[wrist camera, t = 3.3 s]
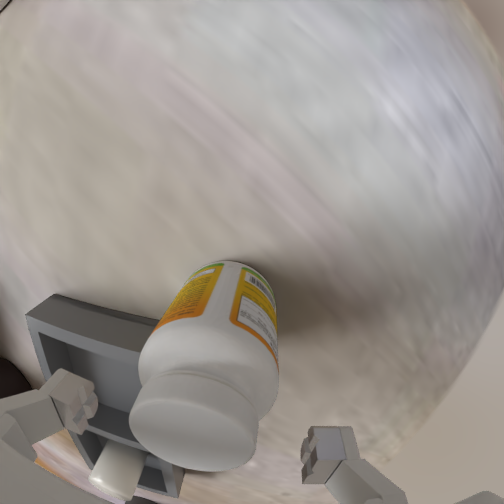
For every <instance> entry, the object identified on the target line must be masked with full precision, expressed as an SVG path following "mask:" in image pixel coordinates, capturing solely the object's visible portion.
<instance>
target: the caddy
mask: <svg viewBox="0 0 504 504" xmlns="http://www.w3.org/2000/svg"><path fill="white" fill-rule="evenodd" d="M25 315H26V320H27V323H28V327H29V331H30V335H31V338H32V342H33V345H34V348H35V351H36V354H37V358H38V361H39V363H40V366H41V369H42V372H43V375H44V377H45V380H46V382H47V381H48V379H49V378H50V377H51V376H52V375H53V374H54V373H55V372H56V371H57V370H58V369H61V368H62V369H64V370H66V371H69V372H71V373H73V374H75V375H78V376H80V377H82V378H85V379H87V380H89V381H91V382H93V384H94V387H95V389H94V390H93V392H94V393H95V395H96V396H97V399H98V408H97V411H96V413H95V415H94V417H92V418H90V419H88V426H87V427H86V429H85V431H84V432H83V434H82V435H80V434H77V433H75V432H73V431H71V430H68V429H67V430H68V432H69V434H70V435H71V437H72V439H73V441H74V443H75V445H76V447H77V448H78V450H79V452H80V454H81V455H82V457H83V459H84V460H85V462H86V464H87V465H88V467H89V468H90V469H91V470H93V468H94V466H95V464H96V462H97V460H98V458H99V456H100V454H101V452H102V450H103V449H104V447H105V445H106V443H107V441H108V439H111V440H114V441H117V442H119V443H122V444H125V445H128V446H131V447H134V448H137V449H141V450H144V451H147V452H149V455H148V458H147V460H146V463H145V465H144V468H143V471H142V473H141V476H140V479H139V481H138V484H137V487H138V488H142V489H145V490H148V491H151V492H155V493H159V494H162V495H166V496H170V497H174V498H178V497H179V494H180V490H181V486H182V482H183V478H184V474H185V471H184V467H180V466H177V465H174V464H172V463H169V462H167V461H165V460H163V459H161V458H159V457H157V456H156V455H154V454H152V453H151V452H150V451H148V450H147V449H146V448H145V447H144V446H142V445H141V444H140V443H139V442H138V440H137V439H136V438H135V436H134V435H133V433H132V431H131V429H130V426H129V415H130V411H131V409H132V407H133V405H134V403H135V401H136V399H137V397H138V394H139V392H140V390H141V389H142V384H141V382H140V378H139V371H138V364H139V358H140V354H141V351H142V349H143V347H144V345H145V343H146V342H147V340H148V338H149V337H150V335H151V333H152V332H153V330H154V329H155V327H156V326H157V324H158V323H159V320H154V319H150V318H145V317H140V316H136V315H132V314H127V313H123V312H119V311H115V310H111V309H107V308H103V307H99V306H96V305H92V304H88V303H84V302H81V301H77V300H74V299H70V298H67V297H64V296H60V295H57V294H53V295H52V296H50V297H49V298H47V299H46V300H45V301H43V302H42V303H40V304H39V305H38V306H36V307H35V308H33V309H32V310H31V311H29V312H28V313H27V314H25Z"/></svg>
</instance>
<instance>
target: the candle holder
mask: <svg viewBox="0 0 504 504" xmlns="http://www.w3.org/2000/svg"><path fill="white" fill-rule="evenodd" d="M125 504H157V503H154V502H152V501H150V500H147V499H144V498H141V497H137V496H133V497H132V500H131V501H126V502H125Z"/></svg>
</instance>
